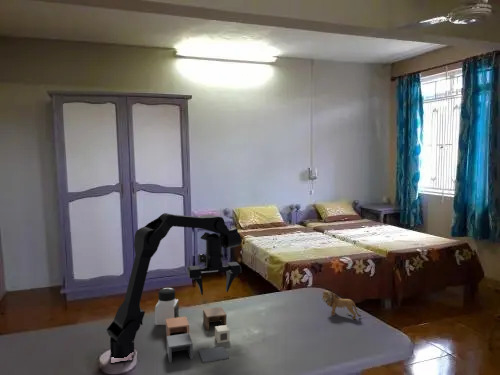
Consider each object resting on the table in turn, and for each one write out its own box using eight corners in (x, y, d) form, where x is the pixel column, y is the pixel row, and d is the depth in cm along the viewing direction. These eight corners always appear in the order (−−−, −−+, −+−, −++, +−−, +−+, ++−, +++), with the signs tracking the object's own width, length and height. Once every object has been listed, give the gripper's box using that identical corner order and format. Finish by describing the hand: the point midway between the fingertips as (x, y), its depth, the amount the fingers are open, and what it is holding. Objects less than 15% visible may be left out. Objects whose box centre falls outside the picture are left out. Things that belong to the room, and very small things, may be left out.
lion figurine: (321, 315, 151) (321, 292, 151) (322, 310, 156) (323, 288, 156) (360, 320, 147) (361, 297, 146) (361, 314, 152) (361, 292, 151)
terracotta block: (168, 342, 130) (167, 327, 130) (165, 332, 137) (165, 318, 136) (189, 339, 132) (189, 324, 132) (186, 330, 139) (185, 316, 138)
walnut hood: (207, 330, 138) (206, 316, 138) (203, 322, 145) (203, 309, 145) (226, 327, 141) (226, 314, 140) (221, 319, 147) (221, 306, 147)
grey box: (169, 362, 117) (169, 346, 117) (166, 351, 124) (166, 336, 124) (192, 359, 120) (192, 343, 119) (189, 348, 126) (188, 333, 126)
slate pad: (202, 362, 117) (202, 361, 117) (198, 351, 124) (198, 350, 124) (228, 358, 120) (228, 357, 120) (223, 347, 126) (223, 346, 126)
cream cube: (217, 343, 129) (217, 331, 129) (215, 337, 133) (214, 326, 133) (229, 341, 131) (229, 330, 130) (226, 336, 135) (226, 324, 134)
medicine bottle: (174, 325, 142) (174, 293, 141) (155, 325, 143) (154, 293, 142) (178, 317, 150) (178, 286, 148) (160, 316, 150) (159, 286, 149)
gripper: (233, 243, 151) (233, 283, 152) (184, 247, 145) (184, 288, 146) (241, 250, 140) (242, 293, 142) (189, 255, 134) (190, 299, 136)
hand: (214, 293), depth 142 cm, fingers open, 9 cm apart
